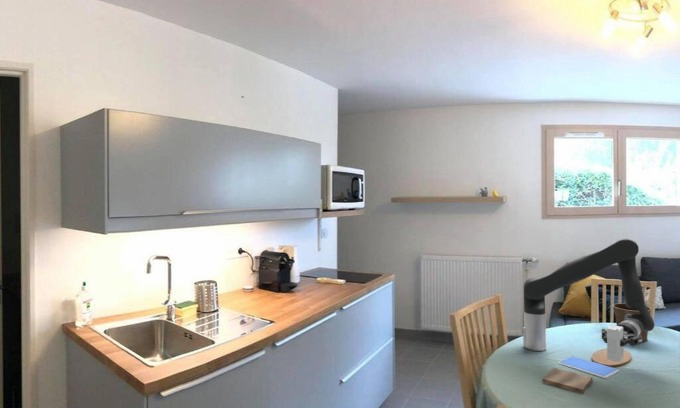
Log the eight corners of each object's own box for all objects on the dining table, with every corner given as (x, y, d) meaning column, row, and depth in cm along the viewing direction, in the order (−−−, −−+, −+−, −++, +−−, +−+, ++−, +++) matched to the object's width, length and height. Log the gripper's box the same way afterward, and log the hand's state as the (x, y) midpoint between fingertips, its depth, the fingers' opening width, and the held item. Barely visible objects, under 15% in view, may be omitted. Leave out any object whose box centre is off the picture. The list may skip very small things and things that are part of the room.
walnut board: (542, 382, 160) (542, 378, 160) (553, 371, 170) (553, 367, 170) (583, 393, 150) (582, 389, 150) (592, 380, 160) (592, 377, 160)
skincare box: (610, 355, 159) (609, 324, 159) (624, 358, 156) (623, 326, 155) (606, 359, 155) (605, 328, 154) (620, 362, 151) (619, 330, 151)
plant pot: (613, 331, 217) (612, 301, 217) (651, 336, 208) (650, 305, 208) (612, 340, 204) (611, 308, 204) (652, 346, 195) (652, 312, 195)
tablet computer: (557, 364, 178) (557, 361, 178) (572, 358, 185) (572, 355, 185) (605, 380, 162) (605, 377, 162) (620, 372, 168) (620, 369, 168)
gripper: (606, 318, 170) (591, 328, 159) (648, 326, 159) (635, 336, 148) (606, 336, 170) (592, 347, 159) (648, 345, 159) (636, 357, 148)
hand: (613, 342), depth 153 cm, fingers closed on skincare box, 4 cm apart
